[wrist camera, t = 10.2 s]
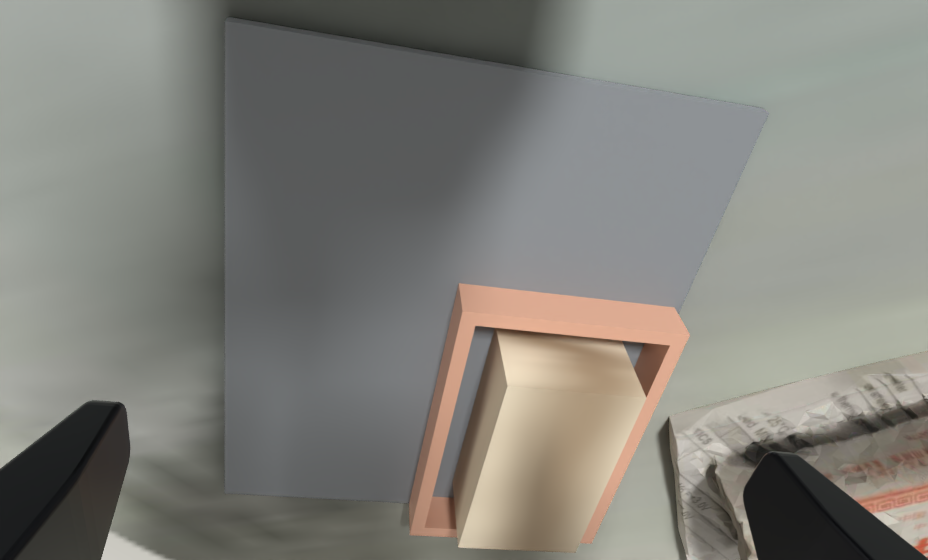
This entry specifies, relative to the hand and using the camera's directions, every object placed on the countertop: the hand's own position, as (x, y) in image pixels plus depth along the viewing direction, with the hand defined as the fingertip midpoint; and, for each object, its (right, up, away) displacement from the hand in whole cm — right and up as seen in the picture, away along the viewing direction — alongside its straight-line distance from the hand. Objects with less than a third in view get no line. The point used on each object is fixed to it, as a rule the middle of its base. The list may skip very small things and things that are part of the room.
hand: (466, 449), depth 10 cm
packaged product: (+18, -4, +20) cm, 27 cm away
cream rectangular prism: (+2, -3, +16) cm, 17 cm away
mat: (0, +1, +14) cm, 14 cm away
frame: (+2, -2, +16) cm, 17 cm away
